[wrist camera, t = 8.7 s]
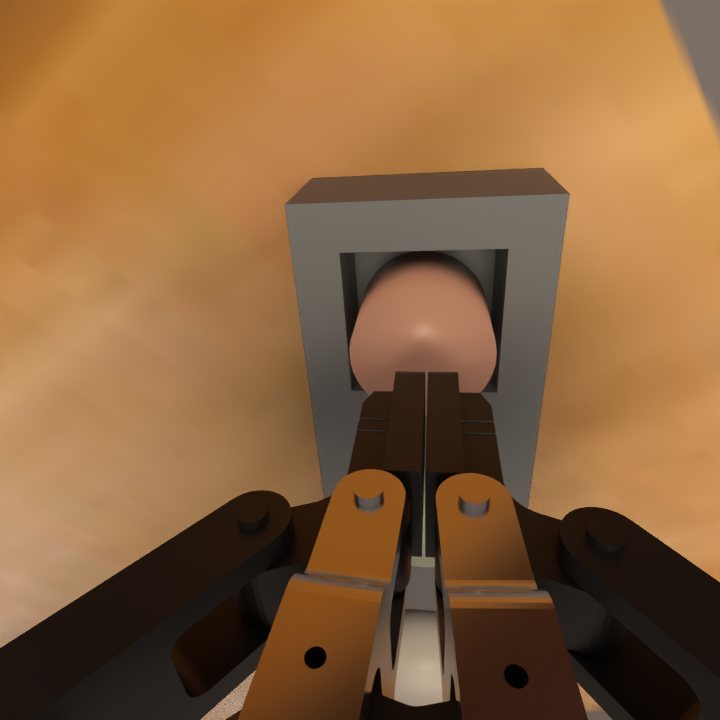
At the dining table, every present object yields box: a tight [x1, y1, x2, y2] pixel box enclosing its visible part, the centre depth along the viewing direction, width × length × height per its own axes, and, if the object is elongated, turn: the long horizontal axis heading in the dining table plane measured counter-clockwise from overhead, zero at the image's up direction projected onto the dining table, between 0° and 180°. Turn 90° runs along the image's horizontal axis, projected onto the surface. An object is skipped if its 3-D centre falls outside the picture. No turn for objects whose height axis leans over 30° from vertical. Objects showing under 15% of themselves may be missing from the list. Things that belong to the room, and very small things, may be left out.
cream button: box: [394, 609, 443, 706], centre depth 25 cm, size 4×4×3 cm
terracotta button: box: [350, 251, 497, 416], centre depth 16 cm, size 4×4×3 cm
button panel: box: [285, 168, 570, 611], centre depth 22 cm, size 25×8×4 cm, turn 3°
